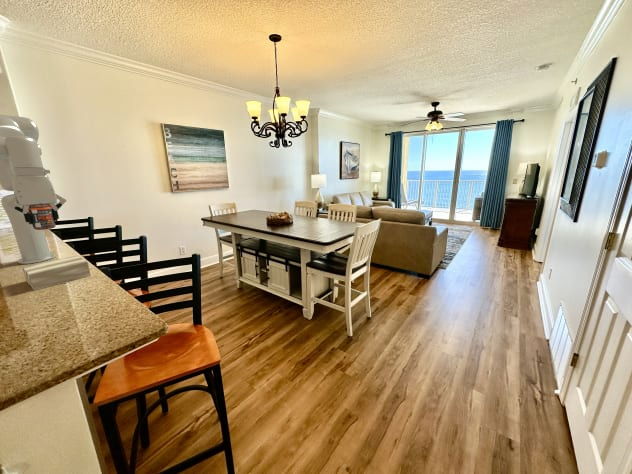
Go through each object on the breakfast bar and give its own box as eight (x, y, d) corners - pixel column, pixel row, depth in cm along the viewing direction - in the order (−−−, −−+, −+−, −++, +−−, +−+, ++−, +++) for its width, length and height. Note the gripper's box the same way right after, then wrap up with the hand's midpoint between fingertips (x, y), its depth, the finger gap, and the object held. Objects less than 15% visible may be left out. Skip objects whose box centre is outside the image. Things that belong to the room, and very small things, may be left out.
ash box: (26, 281, 100) (22, 266, 98) (80, 268, 112) (76, 255, 111) (34, 290, 92) (29, 274, 90) (90, 275, 105) (87, 261, 103)
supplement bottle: (41, 230, 94) (33, 199, 91) (29, 230, 95) (20, 199, 92) (60, 227, 100) (52, 197, 97) (48, 226, 101) (40, 197, 98)
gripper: (59, 173, 101) (71, 218, 106) (-9, 173, 88) (7, 225, 92) (65, 172, 97) (76, 219, 102) (-7, 173, 83) (10, 227, 88)
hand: (43, 222), depth 97 cm, fingers closed on supplement bottle, 6 cm apart
